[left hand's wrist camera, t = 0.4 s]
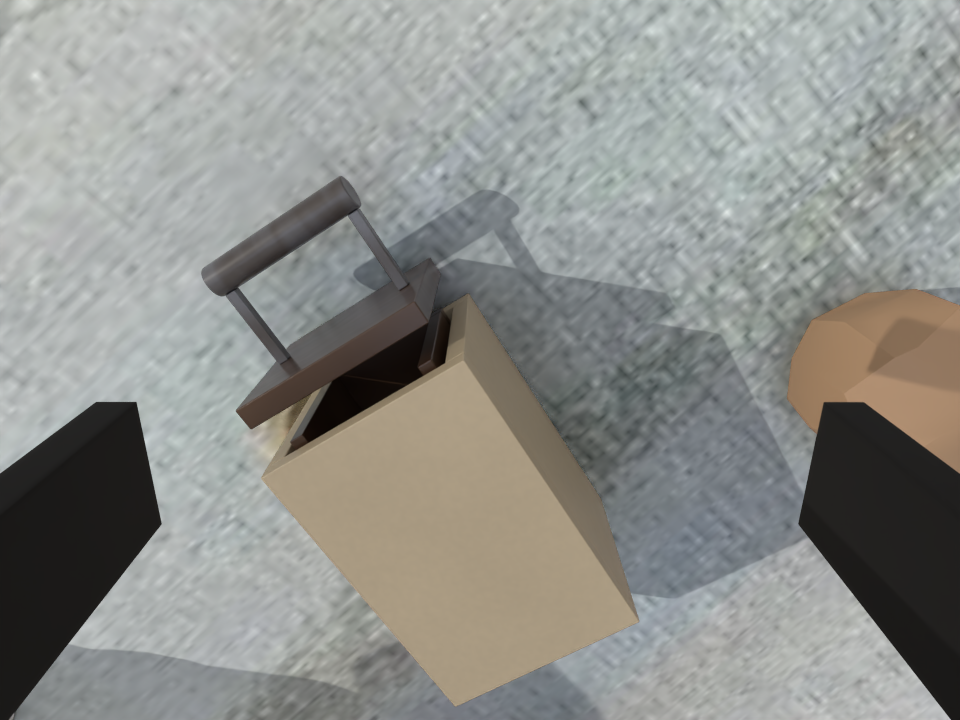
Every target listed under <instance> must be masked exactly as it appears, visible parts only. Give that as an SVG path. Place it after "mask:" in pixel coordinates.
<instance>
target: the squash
mask: <svg viewBox="0 0 960 720" xmlns="http://www.w3.org/2000/svg"><path fill="white" fill-rule="evenodd" d="M787 399H788V401H789V402H790V403H791V404H792V406H793V407H794V408H795V410H796V411H797V412H798V413H799V415H800V416H801V417H802V418H803V420H804V421H805V422H806V424H807V425H808V426H809V427H810V428H811V429H812V430H813V431H814V432H815V433H816V434H817V432H818V427H819V422H820V417H821V413H822V408H823V403H824V402H864V403H866V404H867V405H868V406H870V407H871V408H872V409H874V410H875V411H876V412H878V413H879V414H880V415H882V416H883V417H884V418H886V419H887V420H889V421H890V422H891V423H893V424H894V425H895V426H897V427H898V428H899V429H901V430H902V431H903V432H905V433H906V434H907V435H909V436H910V437H911V438H913V439H914V440H915V441H917V442H918V443H919V444H921V445H922V446H923V447H925V448H926V449H927V450H929V451H930V452H931V453H933V454H934V455H935V456H937V457H938V458H940V459H941V460H942V461H944V462H945V463H946V464H948V465H949V466H950V467H952V468H953V469H954V470H956V471H957V472H958V473H960V305H957V304H955V303H952V302H949V301H947V300H944V299H941V298H939V297H936V296H933V295H931V294H928V293H925V292H923V291H920V290H917V289H909V290H898V291H886V292H874V293H864V294H862V295H860V296H858V297H856V298H854V299H852V300H851V301H849V302H847V303H845V304H843V305H841V306H839V307H837V308H835V309H833V310H831V311H829V312H827V313H825V314H823V315H821V316H819V317H817V318H815V319H813V320H812V321H811V323H810V325H809V327H808V328H807V330H806V332H805V334H804V336H803V338H802V340H801V342H800V344H799V345H798V347H797V349H796V351H795V353H794V355H793V357H792V361H791V369H790V377H789V386H788V394H787Z"/></svg>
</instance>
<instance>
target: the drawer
mask: <svg viewBox="0 0 960 720" xmlns="http://www.w3.org/2000/svg"><path fill="white" fill-rule="evenodd" d="M360 206H361V202H360V199H359V197H358V195H357V193H356V191H355V190H354V188H353V187H352V186H351V184H350V183H349V182H348V181H347V180H346V179H345V178H344V177H342V176H339V177H338V178H336V179H335V180H333V181H332V182H330V183H329V184H327V185H326V186H324V187H323V188H321V189H320V190H318V191H317V192H315V193H314V194H312V195H311V196H309V197H308V198H307V199H305V200H304V201H302V202H301V203H299V204H298V205H296V206H295V207H293V208H292V209H290V210H289V211H287V212H286V213H284V214H283V215H281V216H280V217H278V218H277V219H275V220H274V221H272V222H271V223H269V224H268V225H266V226H265V227H263V228H262V229H260V230H259V231H258V232H256V233H255V234H253V235H252V236H250V237H249V238H247V239H246V240H244V241H243V242H241V243H240V244H238V245H237V246H235V247H234V248H232V249H231V250H229V251H228V252H226V253H225V254H223V255H222V256H220V257H219V258H217V259H216V260H214V261H213V262H211V263H210V264H209V265H207V266H206V267H204V268H203V269H202V271H201V274H202V278H203V280H204V282H205V284H206V285H207V286H208V288H209V289H210V290H211V291H212V292H214V293H215V294H217V295H218V296H226V297H227V298H228V299H229V301H230V302H231V303H232V305H233V306H234V307H235V308H236V310H237V311H238V312H239V313H240V315H241V316H242V317H243V319H244V320H245V321H246V322H247V324H248V325H249V326H250V328H251V329H252V330H253V331H254V333H255V334H256V335H257V336H258V338H259V339H260V340H261V342H262V343H263V344H264V345H265V347H266V348H267V349H268V351H269V352H270V353H271V354H272V356H273V357H274V358H275V359H276V362H275V364H274V365H273V366H272V367H271V369H270V370H269V371H268V372H267V373H266V375H265V376H264V377H263V378H262V379H261V381H260V382H259V383H258V384H257V385H256V387H255V388H254V389H253V390H252V391H251V393H250V394H249V395H248V396H247V398H246V399H245V400H244V401H243V402H242V404H241V405H240V406H239V407H238V408H237V410H236V412H237V413H238V415H239V416H240V417H241V418H242V419H243V421H244V422H245V423H246V424H247V425H248V427H249V428H250V429H253V428H255V427H256V426H258V425H260V424H261V423H263V422H265V421H266V420H268V419H270V418H271V417H273V416H275V415H276V414H278V413H280V412H281V411H283V410H285V409H286V408H288V407H290V406H291V405H293V404H295V403H296V402H298V401H300V400H301V399H303V398H305V397H306V396H308V395H310V394H311V393H313V392H315V391H316V390H318V389H320V388H321V387H322V388H321V390H320V391H319V393H318V395H317V396H316V398H315V400H314V402H313V403H312V405H311V407H310V408H309V410H308V412H307V414H306V415H305V417H304V419H303V420H302V422H301V424H300V426H299V427H298V429H297V431H296V432H295V434H294V436H293V438H292V439H291V441H290V443H291V444H292V446H293V447H294V448H295V449H296V450H297V449H299V448H301V447H303V446H304V445H306V444H308V443H309V442H311V441H313V440H315V439H316V438H318V437H320V436H321V435H323V434H325V433H327V432H328V431H330V430H332V429H333V428H335V427H337V426H339V425H340V424H342V423H344V422H345V421H347V420H349V419H351V418H352V417H354V416H356V415H357V414H359V413H361V412H363V411H364V410H366V409H368V408H369V407H371V406H373V405H375V404H376V403H378V402H380V401H381V400H383V399H385V398H387V397H388V396H390V395H392V394H393V393H395V392H397V391H399V390H400V389H402V388H404V387H405V386H407V385H409V384H411V383H412V382H414V381H416V380H417V379H419V378H421V377H423V376H424V375H426V374H428V373H429V372H431V371H433V370H435V369H436V368H438V367H440V366H441V365H443V364H445V362H446V355H447V348H448V341H449V334H450V327H451V321H450V319H449V318H448V316H447V315H446V313H445V312H444V310H443V309H442V308H440V309H438V310H437V311H435V312H433V313H432V314H431V312H432V308H433V304H434V300H435V296H436V292H437V288H438V284H439V280H440V276H441V274H440V272H439V270H438V269H437V267H436V266H435V264H434V263H433V261H432V260H431V258H428V259H427V260H425V261H424V262H422V263H420V264H419V265H417V266H416V267H414V268H412V269H411V270H409V271H408V272H406V273H404V274H403V272H402V271H401V269H400V268H399V266H398V265H397V264H396V262H395V261H394V259H393V258H392V256H391V255H390V253H389V252H388V250H387V249H386V247H385V246H384V244H383V243H382V241H381V240H380V238H379V237H378V235H377V234H376V232H375V231H374V229H373V228H372V226H371V225H370V223H369V222H368V220H367V219H366V217H365V216H364V214H363V213H362V211H361V210H360V209H359V208H360ZM347 215H348V217H349V218H350V220H351V221H352V223H353V224H354V226H355V227H356V229H357V230H358V232H359V233H360V234H361V236H362V237H363V239H364V240H365V242H366V243H367V245H368V246H369V248H370V249H371V251H372V252H373V254H374V255H375V256H376V258H377V259H378V261H379V262H380V264H381V265H382V267H383V268H384V270H385V271H386V273H387V274H388V275H389V277H390V278H391V280H392V282H390V283H388V284H387V285H385V286H384V287H382V288H380V289H379V290H377V291H375V292H374V293H372V294H371V295H369V296H367V297H366V298H364V299H363V300H361V301H359V302H358V303H356V304H355V305H353V306H351V307H350V308H348V309H347V310H345V311H343V312H342V313H340V314H339V315H337V316H335V317H334V318H332V319H331V320H329V321H327V322H326V323H324V324H323V325H321V326H319V327H318V328H316V329H315V330H313V331H311V332H310V333H308V334H307V335H305V336H303V337H302V338H300V339H299V340H297V341H295V342H294V343H292V344H291V345H290V346H289V347H288V348H287V349H285V348H284V346H283V345H282V344H281V342H280V341H279V340H278V339H277V337H276V336H275V335H274V333H273V332H272V331H271V329H270V328H269V327H268V326H267V324H266V323H265V322H264V320H263V319H262V318H261V317H260V315H259V314H258V313H257V311H256V310H255V309H254V307H253V306H252V305H251V304H250V302H249V301H248V300H247V298H246V297H245V296H244V295H243V293H242V292H241V291H240V289H239V288H238V287H239V286H241V285H242V284H244V283H245V282H247V281H248V280H250V279H252V278H253V277H255V276H256V275H258V274H259V273H261V272H262V271H264V270H265V269H267V268H268V267H270V266H271V265H273V264H274V263H276V262H277V261H279V260H280V259H282V258H283V257H285V256H287V255H288V254H290V253H291V252H293V251H294V250H296V249H297V248H299V247H300V246H302V245H303V244H305V243H306V242H308V241H309V240H311V239H312V238H314V237H315V236H317V235H318V234H320V233H321V232H323V231H325V230H326V229H328V228H329V227H331V226H332V225H334V224H335V223H337V222H338V221H340V220H341V219H343V218H344V217H346V216H347Z"/></svg>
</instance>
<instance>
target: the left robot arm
mask: <svg viewBox="0 0 960 720" xmlns="http://www.w3.org/2000/svg"><path fill="white" fill-rule="evenodd" d="M161 524H162V523H161V519H160V514H159V509H158V504H157V499H156V494H155V490H154V485H153V480H152V475H151V470H150V466H149V461H148V456H147V451H146V446H145V441H144V437H143V432H142V427H141V422H140V417H139V413H138V408H137V403H136V402H96V403H94V404H93V405H92V406H90V407H89V408H88V409H86V410H85V411H84V412H82V413H81V414H80V415H78V416H77V417H76V418H74V419H73V420H71V421H70V422H69V423H67V424H66V425H65V426H63V427H62V428H61V429H59V430H58V431H57V432H55V433H54V434H53V435H51V436H50V437H49V438H47V439H46V440H45V441H43V442H42V443H41V444H39V445H38V446H37V447H35V448H34V449H33V450H31V451H30V452H29V453H27V454H26V455H25V456H23V457H22V458H20V459H19V460H18V461H16V462H15V463H14V464H12V465H11V466H10V467H8V468H7V469H6V470H4V471H3V472H2V473H0V720H9V719H10V718H11V716H12V715H13V714H14V713H15V711H16V710H17V709H18V707H19V706H20V705H21V704H22V702H23V701H24V700H25V698H26V697H27V696H28V695H29V693H30V692H31V691H32V689H33V688H34V687H35V686H36V684H37V683H38V682H39V681H40V679H41V678H42V677H43V675H44V674H45V673H46V672H47V670H48V669H49V668H50V666H51V665H52V664H53V663H54V661H55V660H56V659H57V657H58V656H59V655H60V654H61V652H62V651H63V650H64V648H65V647H66V646H67V645H68V643H69V642H70V641H71V640H72V638H73V637H74V636H75V634H76V633H77V632H78V631H79V629H80V628H81V627H82V625H83V624H84V623H85V622H86V620H87V619H88V618H89V616H90V615H91V614H92V613H93V611H94V610H95V609H96V607H97V606H98V605H99V604H100V602H101V601H102V600H103V599H104V597H105V596H106V595H107V593H108V592H109V591H110V590H111V588H112V587H113V586H114V584H115V583H116V582H117V581H118V579H119V578H120V577H121V575H122V574H123V573H124V572H125V570H126V569H127V568H128V567H129V565H130V564H131V563H132V561H133V560H134V559H135V558H136V556H137V555H138V554H139V552H140V551H141V550H142V549H143V547H144V546H145V545H146V543H147V542H148V541H149V540H150V538H151V537H152V536H153V534H154V533H155V532H156V531H157V529H158V528H159V527H160V526H161ZM798 524H799V526H800V527H801V528H802V529H803V531H804V532H805V533H806V534H807V536H808V537H809V538H810V540H811V541H812V542H813V543H814V545H815V546H816V547H817V549H818V550H819V551H820V552H821V554H822V555H823V556H824V558H825V559H826V560H827V561H828V563H829V564H830V565H831V567H832V568H833V569H834V570H835V572H836V573H837V574H838V575H839V577H840V578H841V579H842V581H843V582H844V583H845V584H846V586H847V587H848V588H849V590H850V591H851V592H852V593H853V595H854V596H855V597H856V599H857V600H858V601H859V602H860V604H861V605H862V606H863V607H864V609H865V610H866V611H867V613H868V614H869V615H870V616H871V618H872V619H873V620H874V622H875V623H876V624H877V625H878V627H879V628H880V629H881V631H882V632H883V633H884V634H885V636H886V637H887V638H888V640H889V641H890V642H891V643H892V645H893V646H894V647H895V648H896V650H897V651H898V652H899V654H900V655H901V656H902V657H903V659H904V660H905V661H906V663H907V664H908V665H909V666H910V668H911V669H912V670H913V672H914V673H915V674H916V675H917V677H918V678H919V679H920V681H921V682H922V683H923V684H924V686H925V687H926V688H927V689H928V691H929V692H930V693H931V695H932V696H933V697H934V698H935V700H936V701H937V702H938V704H939V705H940V706H941V707H942V709H943V710H944V711H945V713H946V714H947V715H948V716H949V718H950V719H951V720H960V473H958V472H957V471H956V470H954V469H953V468H952V467H950V466H949V465H948V464H946V463H945V462H944V461H942V460H941V459H940V458H938V457H937V456H935V455H934V454H933V453H931V452H930V451H929V450H927V449H926V448H925V447H923V446H922V445H921V444H919V443H918V442H917V441H915V440H914V439H913V438H911V437H910V436H909V435H907V434H906V433H905V432H903V431H902V430H901V429H899V428H898V427H897V426H895V425H894V424H893V423H891V422H890V421H889V420H887V419H886V418H884V417H883V416H882V415H880V414H879V413H878V412H876V411H875V410H874V409H872V408H871V407H870V406H868V405H867V404H866V403H864V402H824V403H823V408H822V413H821V417H820V422H819V427H818V432H817V437H816V441H815V446H814V451H813V456H812V461H811V466H810V470H809V475H808V480H807V485H806V490H805V494H804V499H803V504H802V509H801V514H800V519H799V523H798Z"/></svg>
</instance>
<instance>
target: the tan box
mask: <svg viewBox="0 0 960 720" xmlns="http://www.w3.org/2000/svg"><path fill="white" fill-rule="evenodd" d="M443 310H444V312H445V313H446V315H447V316H448V318H449V319H450V321H451V327H450V334H449V341H448V348H447V355H446V362H445V364H443V365H441V366H440V367H438V368H436V369H435V370H433V371H431V372H429V373H428V374H426V375H424V376H423V377H421V378H419V379H417V380H416V381H414V382H412V383H411V384H409V385H407V386H405V387H404V388H402V389H400V390H399V391H397V392H395V393H393V394H392V395H390V396H388V397H387V398H385V399H383V400H381V401H380V402H378V403H376V404H375V405H373V406H371V407H369V408H368V409H366V410H364V411H363V412H361V413H359V414H357V415H356V416H354V417H352V418H351V419H349V420H347V421H345V422H344V423H342V424H340V425H339V426H337V427H335V428H333V429H332V430H330V431H328V432H327V433H325V434H323V435H321V436H320V437H318V438H316V439H315V440H313V441H311V442H309V443H308V444H306V445H304V446H303V447H301V448H299V449H297V450H296V449H295V448H294V447H293V446H292V444H291V443H290V441H291V439H292V438H293V436H294V434H295V432H296V431H297V429H298V427H299V426H300V424H301V422H302V420H303V419H304V417H305V415H306V414H307V412H308V410H309V408H310V407H311V405H312V403H313V402H314V400H315V398H316V396H317V395H318V393H319V391H320V390H321V388H322V387H321V388H320V389H318V390H316V391H315V392H313V393H312V395H311V396H310V398H309V400H308V401H307V403H306V405H305V406H304V408H303V410H302V411H301V413H300V415H299V416H298V418H297V420H296V421H295V423H294V425H293V426H292V428H291V429H290V431H289V433H288V434H287V436H286V438H285V439H284V441H283V443H282V444H281V446H280V448H279V449H278V451H277V453H276V454H275V456H274V458H273V459H272V461H271V463H270V464H269V466H268V467H267V469H266V471H265V472H264V474H263V476H262V477H261V479H262V480H263V481H264V482H265V484H266V485H267V486H268V487H269V488H270V490H271V491H272V492H273V493H274V494H275V495H276V497H277V498H278V499H279V500H280V501H281V502H282V504H283V505H284V506H285V507H286V508H287V510H288V511H289V512H290V513H291V514H292V515H293V517H294V518H295V519H296V520H297V521H298V522H299V524H300V525H301V526H302V527H303V528H304V529H305V531H306V532H307V533H308V534H309V535H310V537H311V538H312V539H313V540H314V541H315V542H316V544H317V545H318V546H319V547H320V548H321V549H322V551H323V552H324V553H325V554H326V555H327V557H328V558H329V559H330V560H331V561H332V562H333V564H334V565H335V566H336V567H337V568H338V569H339V571H340V572H341V573H342V574H343V575H344V576H345V578H346V579H347V580H348V581H349V582H350V584H351V585H352V586H353V587H354V588H355V589H356V591H357V592H358V593H359V594H360V595H361V596H362V598H363V599H364V600H365V601H366V602H367V604H368V605H369V606H370V607H371V608H372V609H373V611H374V612H375V613H376V614H377V615H378V616H379V618H380V619H381V620H382V621H383V622H384V623H385V625H386V626H387V627H388V628H389V629H390V631H391V632H392V633H393V634H394V635H395V636H396V638H397V639H398V640H399V641H400V642H401V643H402V645H403V646H404V647H405V648H406V649H407V651H408V652H409V653H410V654H411V655H412V656H413V658H414V659H415V660H416V661H417V662H418V663H419V665H420V666H421V667H422V668H423V669H424V670H425V672H426V673H427V674H428V675H429V676H430V678H431V679H432V680H433V681H434V682H435V683H436V685H437V686H438V687H439V688H440V689H441V690H442V692H443V693H444V694H445V695H446V696H447V698H448V699H449V700H450V701H451V702H452V703H453V705H454V706H455V707H456V706H458V705H461V704H463V703H465V702H467V701H469V700H471V699H474V698H476V697H478V696H480V695H482V694H484V693H486V692H489V691H491V690H493V689H495V688H497V687H499V686H502V685H504V684H506V683H508V682H510V681H512V680H515V679H517V678H519V677H521V676H523V675H525V674H528V673H530V672H532V671H534V670H536V669H538V668H541V667H543V666H545V665H547V664H549V663H551V662H554V661H556V660H558V659H560V658H562V657H564V656H566V655H569V654H571V653H573V652H575V651H577V650H579V649H582V648H584V647H586V646H588V645H590V644H592V643H595V642H597V641H599V640H601V639H603V638H605V637H608V636H610V635H612V634H614V633H616V632H618V631H621V630H623V629H625V628H627V627H629V626H631V625H633V624H636V623H638V622H639V618H638V615H637V612H636V609H635V606H634V602H633V599H632V596H631V593H630V590H629V586H628V583H627V580H626V577H625V574H624V571H623V567H622V564H621V561H620V558H619V555H618V551H617V548H616V545H615V542H614V539H613V535H612V532H611V529H610V526H609V523H608V520H607V516H606V513H605V510H604V507H603V503H602V500H601V498H600V497H599V495H598V494H597V492H596V491H595V489H594V487H593V486H592V484H591V483H590V481H589V480H588V478H587V477H586V475H585V473H584V472H583V470H582V469H581V467H580V466H579V464H578V463H577V461H576V459H575V458H574V456H573V455H572V453H571V452H570V450H569V449H568V447H567V445H566V444H565V442H564V441H563V439H562V438H561V436H560V435H559V433H558V431H557V430H556V428H555V427H554V425H553V424H552V422H551V421H550V419H549V417H548V416H547V414H546V413H545V411H544V410H543V408H542V407H541V405H540V403H539V402H538V400H537V399H536V397H535V396H534V394H533V393H532V391H531V390H530V388H529V386H528V385H527V383H526V382H525V380H524V379H523V377H522V376H521V374H520V372H519V371H518V369H517V368H516V366H515V365H514V363H513V362H512V360H511V358H510V357H509V355H508V354H507V352H506V351H505V349H504V348H503V346H502V344H501V343H500V341H499V340H498V338H497V337H496V335H495V334H494V332H493V330H492V329H491V327H490V326H489V324H488V323H487V321H486V320H485V318H484V316H483V315H482V313H481V312H480V310H479V309H478V307H477V306H476V304H475V302H474V301H473V299H472V298H471V296H470V295H469V294H466V295H465V296H463V297H461V298H460V299H458V300H456V301H455V302H453V303H451V304H450V305H448V306H446V307H445V308H443Z"/></svg>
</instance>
